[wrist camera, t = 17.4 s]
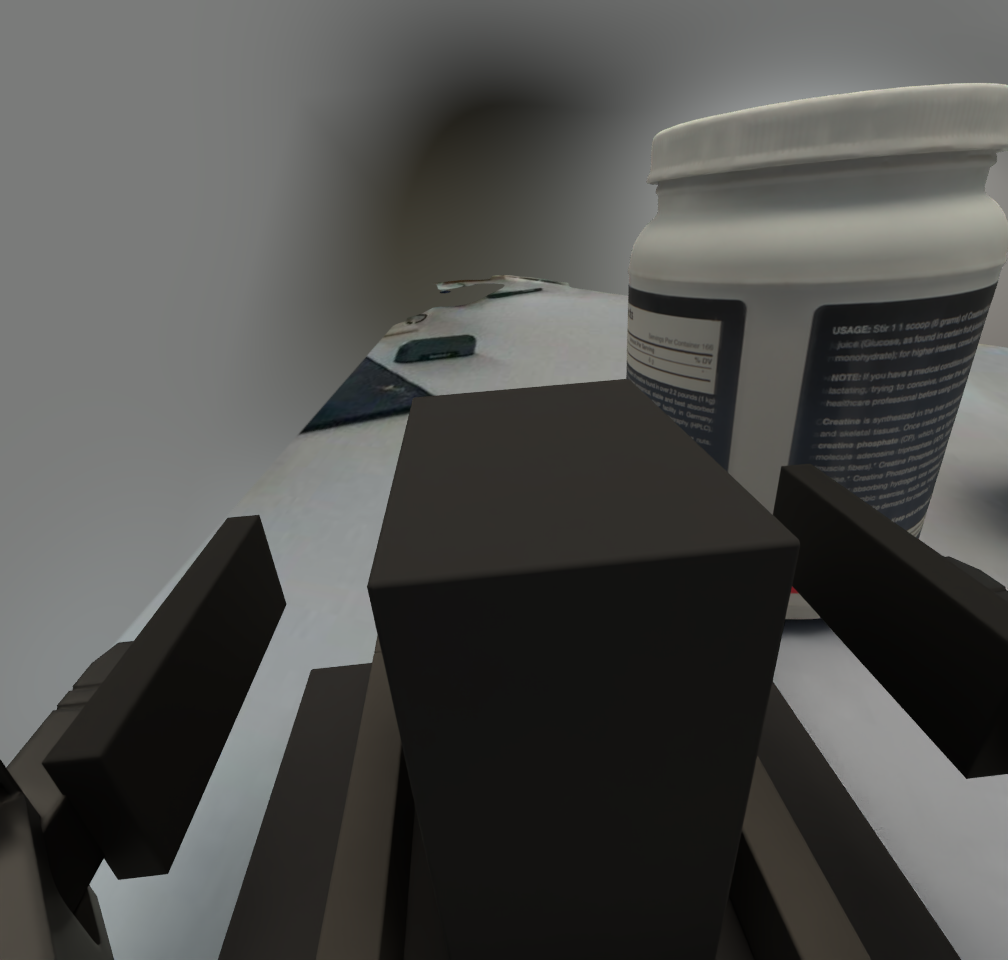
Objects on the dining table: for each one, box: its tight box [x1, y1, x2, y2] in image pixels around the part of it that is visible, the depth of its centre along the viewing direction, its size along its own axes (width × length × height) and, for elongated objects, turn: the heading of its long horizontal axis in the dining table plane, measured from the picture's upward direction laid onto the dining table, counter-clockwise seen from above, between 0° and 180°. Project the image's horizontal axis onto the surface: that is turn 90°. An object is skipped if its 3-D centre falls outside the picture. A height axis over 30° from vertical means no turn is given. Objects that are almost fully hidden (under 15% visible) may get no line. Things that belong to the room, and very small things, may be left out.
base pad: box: [218, 636, 961, 960], centre depth 14 cm, size 16×14×4 cm
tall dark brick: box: [367, 379, 800, 960], centre depth 12 cm, size 5×7×11 cm
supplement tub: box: [626, 83, 1008, 619], centre depth 23 cm, size 13×13×18 cm
